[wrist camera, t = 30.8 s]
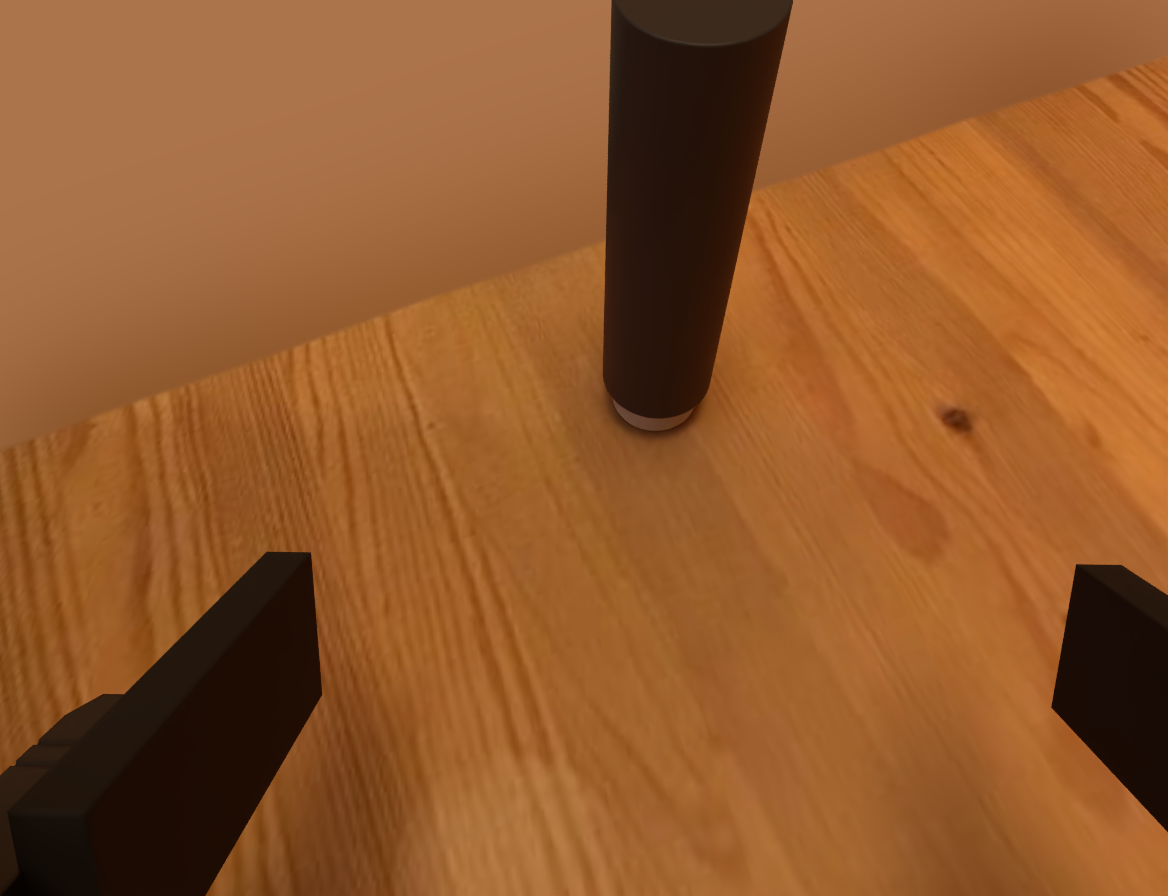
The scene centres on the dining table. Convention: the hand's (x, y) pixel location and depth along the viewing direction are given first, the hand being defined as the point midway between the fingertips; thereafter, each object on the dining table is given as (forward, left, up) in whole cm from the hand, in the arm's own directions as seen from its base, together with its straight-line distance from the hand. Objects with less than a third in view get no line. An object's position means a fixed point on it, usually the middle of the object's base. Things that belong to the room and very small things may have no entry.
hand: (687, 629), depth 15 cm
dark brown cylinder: (-2, +10, -8) cm, 13 cm away
